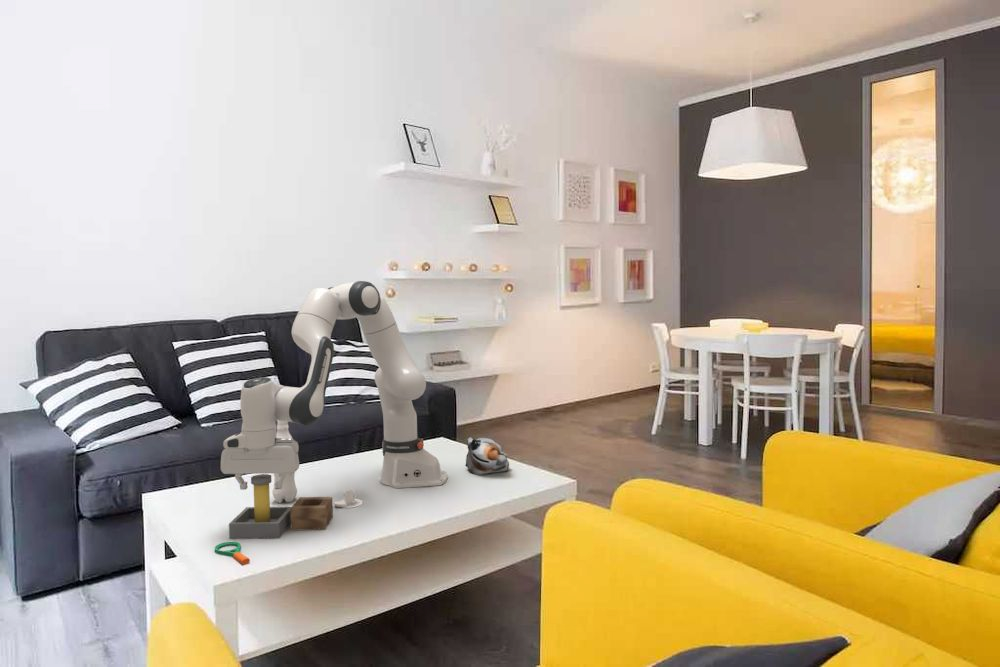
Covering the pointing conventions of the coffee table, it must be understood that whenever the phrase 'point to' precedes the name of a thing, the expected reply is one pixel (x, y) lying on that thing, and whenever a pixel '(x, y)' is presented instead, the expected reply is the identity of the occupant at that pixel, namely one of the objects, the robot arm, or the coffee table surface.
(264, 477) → the peg
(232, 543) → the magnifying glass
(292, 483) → the water bottle
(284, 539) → the coffee table surface
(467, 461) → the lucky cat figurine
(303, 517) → the holder
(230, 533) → the tray
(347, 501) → the teacup and saucer
